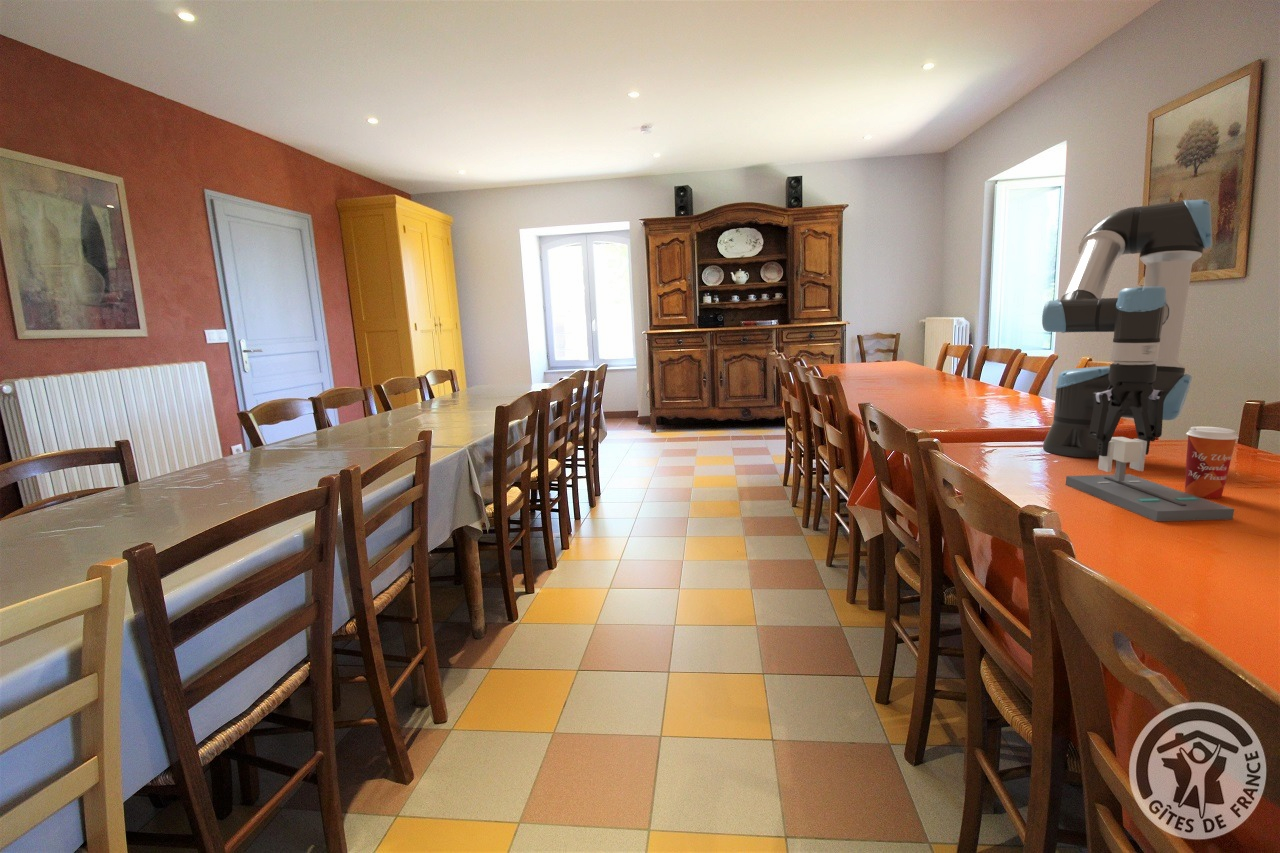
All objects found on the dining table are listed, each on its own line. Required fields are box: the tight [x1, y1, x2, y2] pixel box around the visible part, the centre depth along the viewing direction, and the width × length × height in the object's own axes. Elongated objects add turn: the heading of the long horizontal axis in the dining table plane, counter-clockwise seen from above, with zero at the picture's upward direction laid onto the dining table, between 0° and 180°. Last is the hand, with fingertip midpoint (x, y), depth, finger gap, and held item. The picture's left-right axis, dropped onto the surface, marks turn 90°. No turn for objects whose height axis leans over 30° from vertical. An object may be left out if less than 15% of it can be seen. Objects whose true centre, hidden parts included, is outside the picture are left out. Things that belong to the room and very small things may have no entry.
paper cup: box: [1184, 426, 1240, 499], centre depth 120 cm, size 8×8×14 cm
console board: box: [1065, 473, 1235, 522], centre depth 119 cm, size 24×14×2 cm, turn 179°
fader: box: [1110, 436, 1141, 481], centre depth 124 cm, size 5×3×9 cm, turn 179°
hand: (1120, 469), depth 124 cm, fingers open, 6 cm apart
